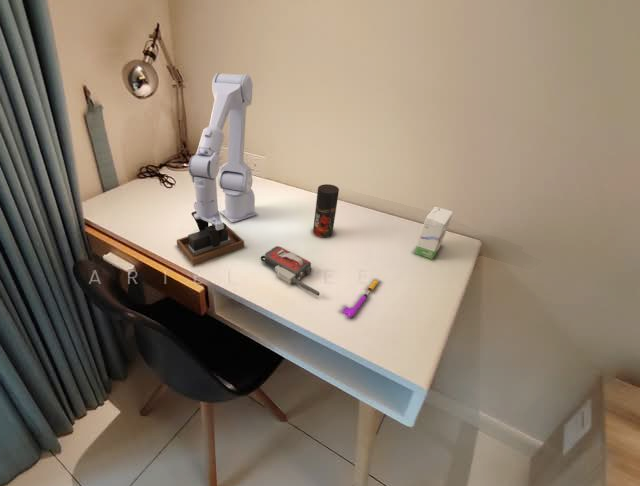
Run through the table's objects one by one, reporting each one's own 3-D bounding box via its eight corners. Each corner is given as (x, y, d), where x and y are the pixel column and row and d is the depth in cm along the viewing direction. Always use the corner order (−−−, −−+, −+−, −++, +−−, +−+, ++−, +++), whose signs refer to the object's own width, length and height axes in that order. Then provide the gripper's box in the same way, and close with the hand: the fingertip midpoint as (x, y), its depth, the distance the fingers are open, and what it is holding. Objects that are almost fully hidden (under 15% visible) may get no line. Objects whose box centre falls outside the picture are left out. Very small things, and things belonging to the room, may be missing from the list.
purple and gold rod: (351, 319, 80) (379, 283, 90) (351, 315, 79) (379, 279, 89) (340, 315, 81) (369, 280, 92) (340, 311, 81) (369, 276, 91)
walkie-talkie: (254, 265, 97) (316, 300, 85) (254, 252, 94) (317, 287, 82) (275, 251, 102) (335, 283, 90) (275, 238, 99) (338, 269, 87)
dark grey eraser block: (224, 236, 108) (224, 222, 105) (231, 242, 105) (230, 228, 102) (188, 248, 103) (187, 234, 100) (194, 255, 100) (192, 241, 97)
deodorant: (336, 231, 110) (342, 188, 101) (325, 240, 106) (332, 195, 98) (319, 225, 113) (325, 182, 105) (309, 232, 109) (313, 189, 101)
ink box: (432, 260, 97) (445, 223, 90) (413, 253, 100) (425, 217, 93) (441, 246, 102) (454, 210, 96) (423, 240, 105) (434, 205, 98)
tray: (225, 230, 112) (225, 223, 111) (244, 247, 104) (244, 241, 102) (177, 246, 105) (176, 239, 104) (193, 266, 97) (192, 259, 96)
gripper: (182, 191, 99) (187, 232, 106) (205, 213, 88) (209, 256, 96) (204, 185, 102) (208, 225, 109) (229, 205, 91) (231, 248, 99)
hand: (210, 239), depth 103 cm, fingers open, 7 cm apart
